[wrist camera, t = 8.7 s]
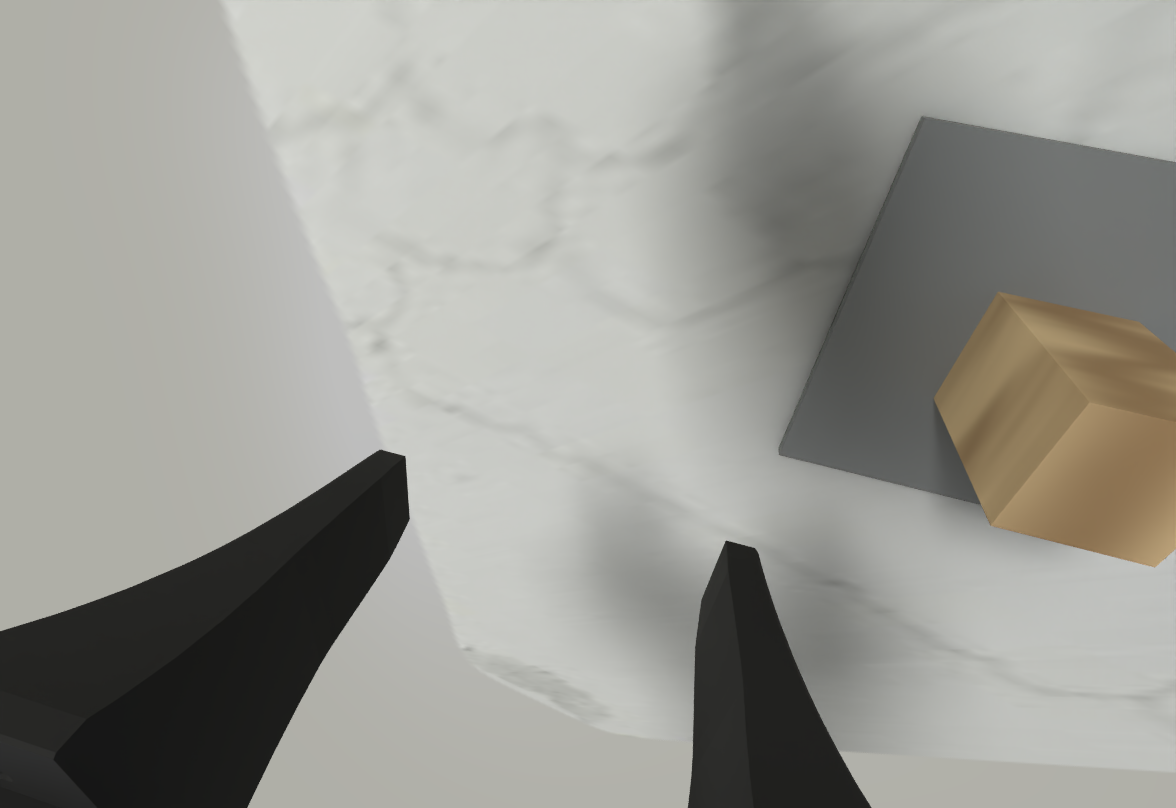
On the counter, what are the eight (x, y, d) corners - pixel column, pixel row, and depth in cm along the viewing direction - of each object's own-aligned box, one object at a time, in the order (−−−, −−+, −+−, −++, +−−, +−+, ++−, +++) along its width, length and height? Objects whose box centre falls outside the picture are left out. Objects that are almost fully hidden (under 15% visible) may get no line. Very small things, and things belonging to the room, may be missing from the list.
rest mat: (1413, 205, 15) (1427, 210, 14) (1102, 528, 22) (1107, 536, 21) (921, 115, 16) (925, 118, 16) (778, 448, 23) (779, 454, 23)
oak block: (1138, 321, 17) (1288, 447, 12) (1056, 427, 20) (1154, 567, 15) (997, 291, 18) (1089, 402, 13) (933, 398, 20) (990, 525, 15)
